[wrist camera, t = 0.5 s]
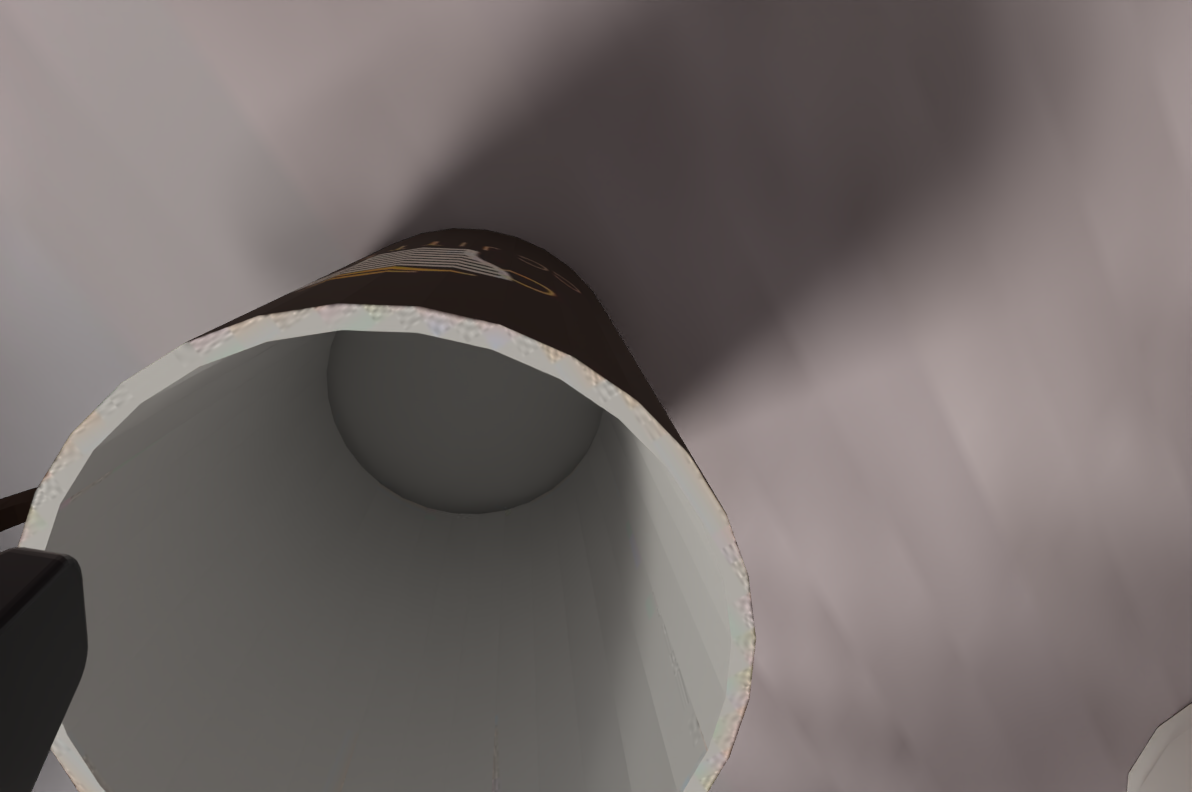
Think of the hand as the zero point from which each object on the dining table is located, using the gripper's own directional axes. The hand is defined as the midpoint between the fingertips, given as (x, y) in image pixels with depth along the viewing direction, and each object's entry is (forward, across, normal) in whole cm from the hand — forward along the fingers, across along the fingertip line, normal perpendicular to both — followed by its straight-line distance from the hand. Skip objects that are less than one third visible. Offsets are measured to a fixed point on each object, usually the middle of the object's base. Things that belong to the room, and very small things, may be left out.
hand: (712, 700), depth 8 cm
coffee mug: (+14, +5, +5) cm, 15 cm away
